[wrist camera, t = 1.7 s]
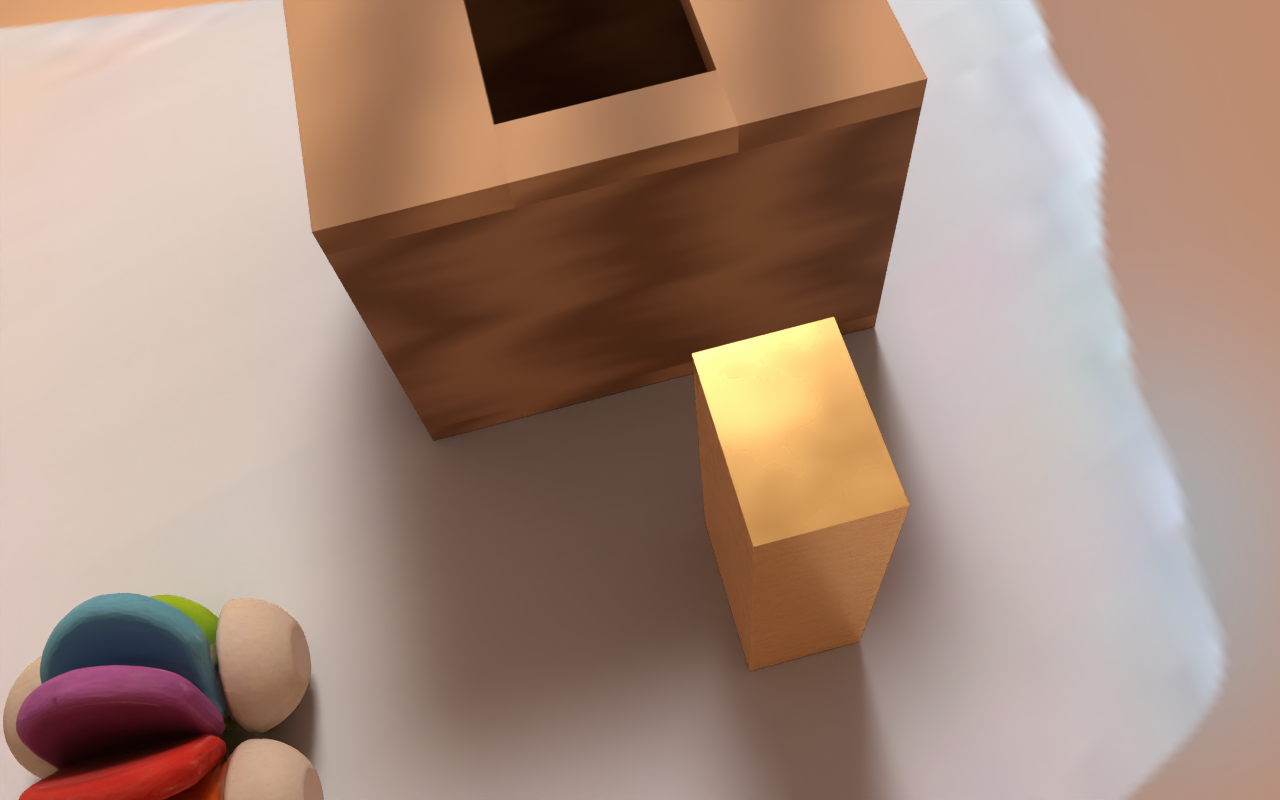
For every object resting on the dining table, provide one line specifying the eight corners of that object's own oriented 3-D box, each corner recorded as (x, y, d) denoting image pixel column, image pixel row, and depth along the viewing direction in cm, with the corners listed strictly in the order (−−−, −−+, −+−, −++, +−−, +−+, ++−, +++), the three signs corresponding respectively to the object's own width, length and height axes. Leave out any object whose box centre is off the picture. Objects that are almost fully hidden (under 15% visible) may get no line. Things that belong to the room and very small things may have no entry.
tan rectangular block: (749, 671, 33) (752, 547, 23) (705, 523, 35) (691, 353, 25) (859, 641, 33) (909, 505, 23) (808, 495, 35) (834, 317, 25)
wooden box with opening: (433, 440, 37) (311, 232, 27) (388, 180, 43) (272, -78, 32) (874, 326, 38) (927, 78, 27) (773, 85, 44) (784, -198, 33)
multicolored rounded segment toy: (53, 981, 30) (-131, 986, 24) (62, 651, 35) (-90, 581, 28) (347, 904, 31) (243, 889, 24) (318, 587, 35) (224, 504, 29)
